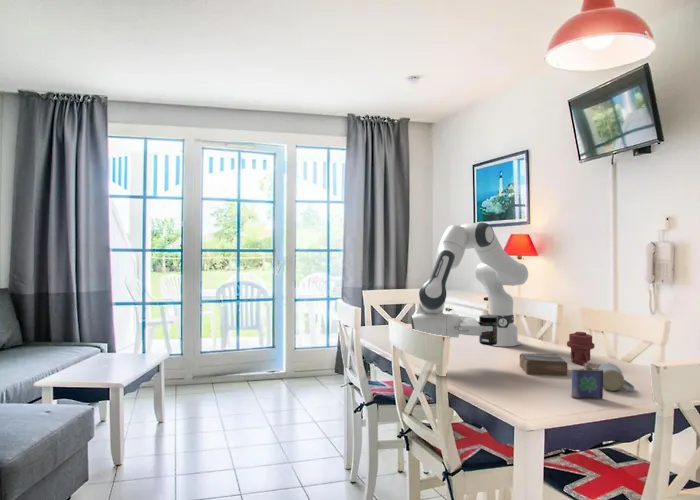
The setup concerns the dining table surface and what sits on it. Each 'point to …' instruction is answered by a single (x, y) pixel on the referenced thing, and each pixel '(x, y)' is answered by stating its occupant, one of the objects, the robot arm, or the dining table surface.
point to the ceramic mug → (614, 378)
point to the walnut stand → (543, 364)
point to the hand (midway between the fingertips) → (490, 326)
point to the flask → (587, 383)
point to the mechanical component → (580, 347)
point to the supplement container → (488, 336)
